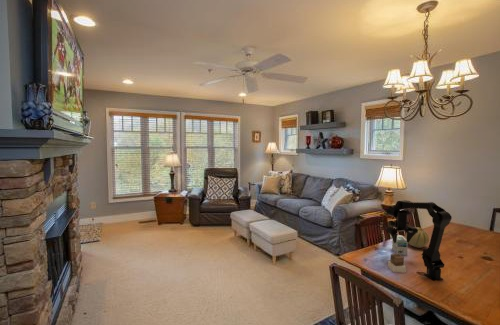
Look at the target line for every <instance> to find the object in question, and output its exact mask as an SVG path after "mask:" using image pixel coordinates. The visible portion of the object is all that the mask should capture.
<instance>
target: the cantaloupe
mask: <svg viewBox="0 0 500 325" xmlns="http://www.w3.org/2000/svg"><path fill="white" fill-rule="evenodd" d="M414 227H415V228H417V229H418V233H416V234H415V235H414V236H413V237H412V238H411V240H410V241H409V243H408V244H409V245H410V246H412V247H414V248H419V249H421V248H424V247H426V246H427V245H429V243H430V237H429V233H428V232H427V231H426V230H424V229H423V228H422V227H417V226H414ZM405 239H407V233H406V232H405Z"/></svg>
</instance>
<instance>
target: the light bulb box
mask: <svg viewBox="0 0 500 325" xmlns="http://www.w3.org/2000/svg"><path fill="white" fill-rule="evenodd" d="M391 243H392V244H391V247H392V248H391V249H392V250H393V251H394V254H399V255H401V256H408V249H409V248H408V244H409V243H408V242H407V239H406V237H404V235H402V234H401V235H400V234H397V240H396V243H394V241H393V238H392V241H391Z"/></svg>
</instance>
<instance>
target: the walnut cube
mask: <svg viewBox="0 0 500 325" xmlns="http://www.w3.org/2000/svg"><path fill="white" fill-rule="evenodd" d="M389 261H390V262H391V263H392V264H394V265H395V266H403V265H405V264H404V262H405V256H403V255H399V254H396V253H392V254H390V260H389Z"/></svg>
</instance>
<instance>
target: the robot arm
mask: <svg viewBox="0 0 500 325" xmlns="http://www.w3.org/2000/svg"><path fill="white" fill-rule="evenodd" d="M410 209H415V210H417V209H418V210H419V209H420V210H426V211H427V212H428V214H429V216H430V217H431V218H432V224H433V228H432V232H431V236H430V239H429V242H428V247H427V248H423V249H422V254H421V256H422V257H421V258H422V261H423V264H424V267H425V268H426V273H424V276H426V277H427V278H428V279H430V280H432V281H443V280H444V278H443V277H442V276H441V275H442V269H443V268H445V263H444V262H443V260H442V259H441V252H440V247H441V244H442V239H443V235H444V232H445V229H446V227H448V225H450V223H451V221H452V218H453V217H452V215H451V214H450V213H449V212H448V211H447V210H445V208H442V207H441V206H439V205H437V204H436V203H435V202H434V201H432V202H431V201H429V202H427V201H426V202H425V201H424V202H423V201H422V202H421V201H420V202H418V201H417V202H415V201H410V200H407V199H406V200H405V199H403V200H397V201H396V203H395V205H389V207H388V208H387V209H386V214H387V215H388V216H390V217H393V218H396V219H395V221H394V220H388V225H389V226H388V227H386V229H385V232H387V233H388V234H390V236H391V238H392V239H393V241H394V243H396V240H397V235H398V232H399V233H400V232H405V234H406V233H407V242H408V244H409V241H410V240H411V238H412V237H413V236H414V235H415V234H416V233H418V229H417V228H415V227H416V226H412V225H409V221H408V215H411V212H410V211H409V210H410Z"/></svg>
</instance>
